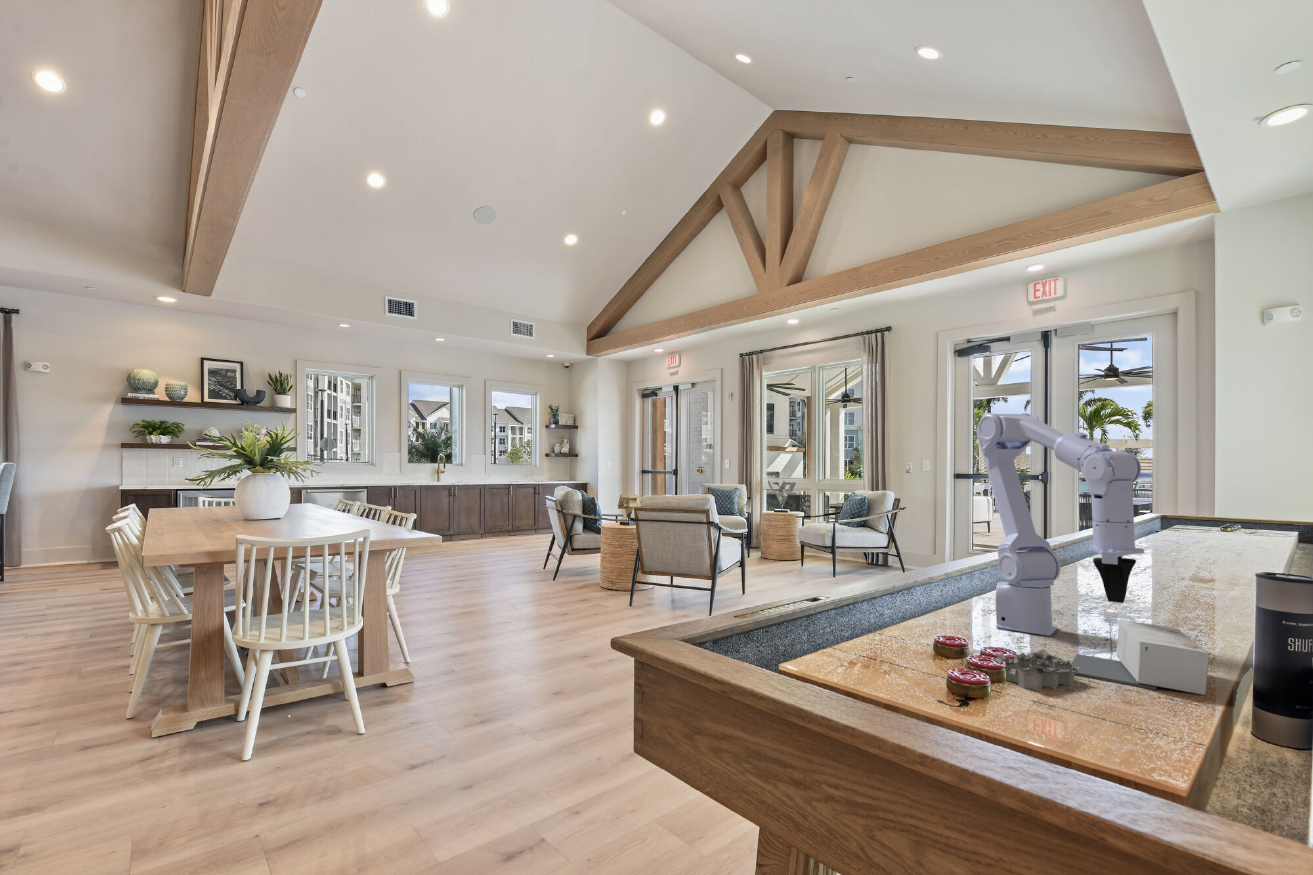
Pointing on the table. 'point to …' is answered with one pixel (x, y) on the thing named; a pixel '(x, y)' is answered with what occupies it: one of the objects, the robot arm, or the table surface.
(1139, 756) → the table surface
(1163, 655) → the small box
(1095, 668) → the mat
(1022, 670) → the egg carton
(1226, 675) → the table surface
